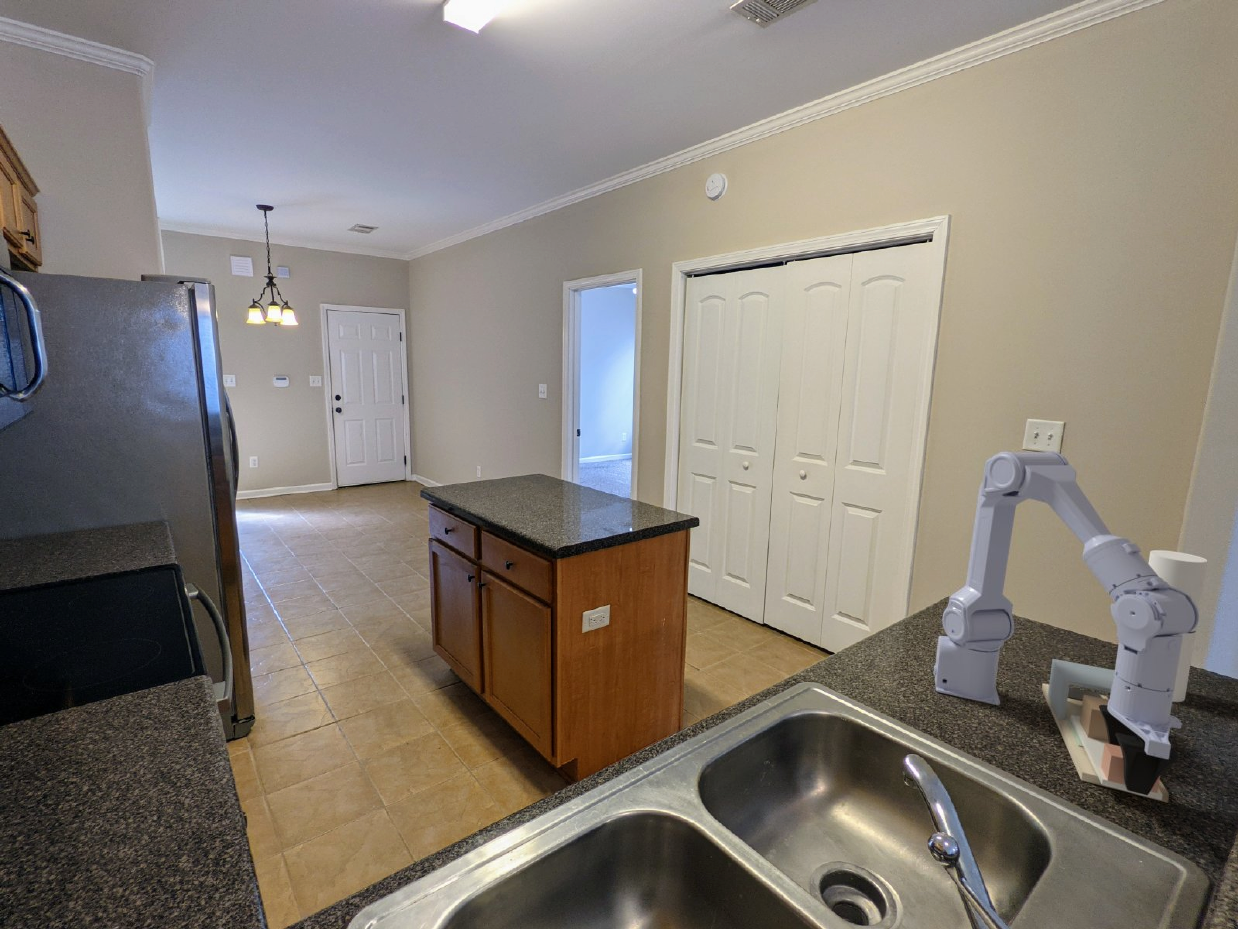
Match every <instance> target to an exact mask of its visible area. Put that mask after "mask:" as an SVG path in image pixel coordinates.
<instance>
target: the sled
mask: <svg viewBox="0 0 1238 929" xmlns="http://www.w3.org/2000/svg"><path fill="white" fill-rule="evenodd" d="M1108 699H1109V698H1108ZM1108 699H1103V698H1098V697H1093V696H1088V695H1083V702H1082V710H1081V717H1079V716H1074V715H1071V719H1070V720H1071V722H1072V724H1073V726H1074V728H1075V730H1076V732H1077V734H1078V736H1079V738H1080V740H1081V742H1082V745H1083V747H1084V749H1085V751H1086V753H1087V755H1088V757H1089V759H1090V761H1091V763H1092V765H1093V767H1094V769H1095V771H1096V774H1097V776H1098V778H1099V780H1100V782H1101V784H1102V785H1104V786H1103V787H1105V786H1108V787H1107V788H1109V787H1112V788H1111V789H1113V788H1116V789H1115V790H1117V789H1120V790H1119V791H1121V790H1124V791H1123V792H1125V791H1128V790H1127V788H1126V786H1125V781H1124V762H1123V755H1122V750H1121V747H1120V746H1116V745H1112V744H1109V743H1108V735H1107V729H1106V725H1105V721H1104V718H1103V716H1102V713H1101V711H1100V709H1099V705H1108V702H1109V700H1108ZM1159 781H1161V775H1160V776H1159V778H1158V779H1157V781H1156V783H1155V785H1154V786H1153V788H1152V790H1151V791H1150V793H1149V794H1148V795H1144V794H1140V793H1136V792H1132V791H1128V792H1127V793H1129V792H1132V793H1131V794H1133V793H1135V794H1134V795H1137V794H1139V795H1138V796H1140V795H1143V796H1142V797H1144V796H1147V797H1146V798H1148V797H1151V798H1150V799H1152V798H1155V799H1154V800H1156V799H1159V800H1158V801H1160V800H1162V795H1163V794H1162V793H1161V791H1160V789H1159V788H1158V787H1159ZM1102 785H1101V786H1102Z"/></svg>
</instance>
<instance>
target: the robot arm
mask: <svg viewBox="0 0 1238 929" xmlns="http://www.w3.org/2000/svg"><path fill="white" fill-rule="evenodd" d="M982 475H983V477H982V482H981V483H980V486H979V487H978V488H979V489H978V495H977V501H976V508H975V516H974V523H973V531H972V538H971V543H970V544H971V545H970V552H969V559H968V566H967V574H966V580H965V585H964V586H963V587H962V588H960V589H959V590H958V591H956V592H954V593H953V594H951V596H949V598H948V599H949V600H948V604H947V607H946V608H945V609H944V611H943V613H942V627H943V630H944V632H945V634H946V635H939V636H938V639H937V645H936V646H937V647H936V658H935V664H934V665H933V676H934V681H935V682H934V683H935V692H937V693H941V694H945V695H950V696H955V697H959V698H963V699H968V700H972V701H977V702H982V703H987V704H991V705H994V706H995V705H996V706H1000V705H1001V701H1000V698H999V694H998V691H997V687H996V684H997V677H998V676H997V675H998V668H999V659H1000V658H999V657H1000V651H1001V650H1000V649H1001V647H1004V646H1005V641H1008V640H1009V639H1010V638H1011V637H1013V634H1014V632H1015V621H1014V617H1013V606H1014V604H1013V602H1011V600H1010V599H1008V598H1007V597H1006V596H1005V595H1004V587H1005V580H1006V575H1007V566H1008V561H1009V554H1010V553H1009V552H1010V546H1011V542H1012V534H1013V528H1014V521H1015V514H1016V508H1017V505H1020V504H1021V503H1023V502H1025V501H1026V500H1028V499H1029V500H1034V501H1037V502H1041V503H1046V504H1047V505H1048V506H1049V507H1050V508H1051V509H1052V510H1053V512H1055V514H1056V515H1057V516H1058V518H1060V520H1061V521H1062V522H1063V523H1064V525H1066V527H1068V529H1069V530H1070V531H1071V532H1072V533H1073V534H1074V536H1075V537H1076V538H1077V540H1079V541H1080V543H1081V544H1082V545H1083V552H1082V556H1081V557H1082V558H1081V559H1082V560H1083V561H1084V563H1085V565H1086V566H1087V567H1088V569H1089V570H1090V571H1091V573H1092V574H1093V575H1094V577H1095V578H1096V579H1097V581H1098V582H1099V584H1100V585H1101V586H1102V587H1103V589H1104V590H1105V592H1106V593H1107V594H1108V595H1109V597H1110V598H1111V599H1112V601H1113V602H1114V603H1110V614H1111V617H1112V619H1113V621H1114V623H1115V624H1116V628H1117V629H1116V630H1117V632H1116V638H1118V640H1117V641H1118V646H1117V653H1116V654H1117V655H1116V660H1115V667H1114V670H1115V672H1114V679H1113V685H1112V687H1111V693H1110V695H1109V698H1108V699H1109V702H1108V705H1099V709H1100V711H1101V713H1102V716H1103V718H1104V721H1105V725H1106V729H1107V735H1108V743H1109V744H1112V745H1116V746H1120V747H1121V750H1122V755H1123V762H1124V781H1125V786H1126V788H1127V790H1128V791H1132V792H1136V793H1140V794H1144V795H1148V794H1149V793H1150V791H1151V790H1152V788H1153V786H1154V785H1155V783H1156V781H1157V779H1158V778H1159V776H1160V777H1161V774H1163V772H1164V771H1165V770H1167V769H1168V768H1169V767H1170V766H1172V765H1173V764H1175V763H1177V762H1178V761H1179V759H1180V758H1179V757H1180V755H1179V753H1178V752H1177V750H1176V749H1175V748H1174V747H1171V746H1172V744H1171V743H1170V741H1169V736H1170V730H1171V728H1173V729H1181V728H1182V725H1183V724H1182V722H1181V721H1180V719H1179V718H1178V717H1176V716H1174V715H1171V710H1172V706H1173V702H1172V700H1173V693H1174V688H1175V681H1176V675H1177V669H1178V663H1179V657H1180V651H1181V644H1182V638H1183V636H1182V635H1180V634H1185V633H1188V632H1190V631H1192V630H1193V629H1194V628H1195V627H1196V626H1197V627H1198V624H1199V620H1200V611H1199V612H1198V609H1197V607H1196V605H1195V603H1194V602H1193V601H1192V598H1191V596H1190V595H1188V594H1187V593H1186V592H1184V591H1182V590H1180V589H1177V588H1174V587H1172V586H1170V585H1169V584H1168V583H1167V582H1165V581H1164V580H1163V579H1162V578H1160V577H1159V576H1158V575H1157V574H1156V573H1155V571H1154V570H1153V569H1152V568H1151V566H1150V565H1149V562H1148V561H1147V560H1146V559H1145V558H1144V556H1143V555H1142V554H1141V553H1140V552H1142V549H1141V548H1140V547H1139V545H1138V544H1137V543H1135V542H1132V541H1131V540H1129V539H1128V538H1125V537H1122V536H1117V535H1114V534H1112V533H1111V531H1110V530H1109V528H1108V527H1107V526H1106V524H1105V522H1104V521H1103V518H1101V517H1100V514H1098V512H1097V510H1096V509H1095V508H1094V506H1093V505H1092V503H1091V502H1090V501H1089V499H1088V498H1087V496H1086V494H1085V493H1084V492H1083V491H1082V489H1081V487H1080V486H1079V485H1078V483H1077V480H1076V479H1077V470H1076V469H1075V468H1074V467H1073V466H1072V465H1070V463H1069V460H1067V458H1066V457H1065V456H1064V455H1063V454H1062V453H1059V452H1056V451H1046V452H1010V451H1001V452H998V453H996V454H995V455H993V456H992V457H990V458H988V459H987V460H986V461H985V464H984V468H983V474H982ZM1173 635H1178V636H1173ZM1011 639H1012V638H1011Z"/></svg>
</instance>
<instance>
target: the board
mask: <svg viewBox="0 0 1238 929" xmlns="http://www.w3.org/2000/svg"><path fill="white" fill-rule="evenodd" d="M1048 690H1049V684H1048V683H1042V685H1041V691H1042V693H1043V696H1044V698H1045V700H1046V703H1047V705H1048V707H1049V709H1050V712H1051V714H1052V716H1053V719H1054V721H1055V723H1056V726H1057V728H1058V729H1059V733H1060V735H1061V736H1062V739H1063V741H1064V744H1065V746H1066V749H1067V751H1068V752H1069V755H1070V758H1071V760H1072V762H1073V764H1074V766H1075V769H1076V772H1077V773H1078V775H1079V778H1080V780H1081V781H1083V782H1087V783H1091V784H1094V785H1099V786H1102V787H1106V788H1110V789H1114V790H1119V791H1122V792H1126V793H1130V794H1134V795H1137V796H1141V797H1144V798H1149V799H1152V800H1156V801H1161V802H1165V803H1169V798H1170V793H1169V792H1168V790H1167V788H1166V787H1165V786H1164V784H1163V782H1162V781H1161V780H1160V781H1159V787H1158V788H1159V789H1160V791H1161V793H1162V794H1163V795H1162V800H1159V799H1155V798H1151V797H1147V796H1143V795H1139V794H1135V793H1132V792H1128V791H1124V790H1120V789H1116V788H1112V787H1108V786H1104V785H1102V784H1101V782H1100V780H1099V778H1098V776H1097V774H1096V771H1095V769H1094V767H1093V765H1092V763H1091V761H1090V759H1089V757H1088V755H1087V753H1086V751H1085V749H1084V747H1083V745H1082V742H1081V740H1080V738H1079V736H1078V734H1077V732H1076V730H1075V728H1074V726H1073V724H1072V722H1071V720H1070V719H1071V715H1074V716H1079V717H1081V710H1082V702H1083V695H1088V696H1093V697H1098V698H1103V699H1108V700H1109V699H1110V698H1108V696H1107V695H1101V694H1100V693H1098V692H1095V691H1087V690H1083V689H1079V688H1078V689H1077V688H1072V687H1069V692H1068V699H1067V706H1066V714H1065V720H1062V719H1058V717H1057V714H1056V712H1055V710H1054V708H1053V705H1052V703H1051V701H1050V699H1049V696H1048Z"/></svg>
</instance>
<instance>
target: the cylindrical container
mask: <svg viewBox="0 0 1238 929" xmlns="http://www.w3.org/2000/svg"><path fill="white" fill-rule="evenodd" d="M1148 564H1149V565H1150V566H1151V568H1152V569H1153V570H1154V571H1155V573H1156V574H1157V575H1158V576H1159V577H1160V578H1162V579H1163V580H1164V581H1165V582H1167V583H1168V584H1169V585H1170V586H1172V587H1174V588H1177V589H1180V590H1182V591H1184V592H1186V593H1187V594H1188V595H1190V596H1191V598H1192V601H1193V602H1194V603H1195V605H1196V607H1197V609H1198V612H1199V613H1200V608H1201V602H1202V601H1201V600H1202V596H1203V590H1204V586H1205V585H1204V583H1205V579H1206V572H1207V567H1208V560H1207V559H1206V558H1204V557H1202V556H1198V555H1195V554H1190V553H1186V552H1181V551H1174V550H1173V551H1172V550H1164V549H1158V550H1157V549H1156V550H1155V549H1154V550H1150V551H1149V558H1148ZM1197 627H1198V625H1197V626H1196V627H1195V628H1194V629H1193V630H1192V631H1190V632H1188V633H1185V634H1180V635H1182V636H1183V638H1182V644H1181V651H1180V657H1179V663H1178V669H1177V675H1176V681H1175V688H1174V693H1173V700H1172V703H1181V702H1184V701H1185V699H1186V695H1187V687H1188V681H1189V674H1190V669H1191V664H1192V657H1193V652H1194V651H1193V650H1194V645H1195V640H1196V633H1197ZM1173 636H1178V635H1173Z"/></svg>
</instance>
